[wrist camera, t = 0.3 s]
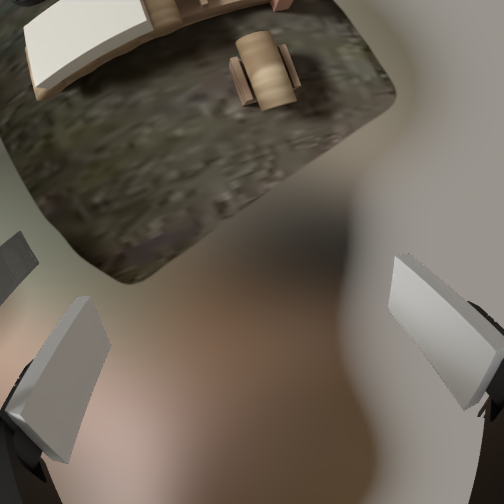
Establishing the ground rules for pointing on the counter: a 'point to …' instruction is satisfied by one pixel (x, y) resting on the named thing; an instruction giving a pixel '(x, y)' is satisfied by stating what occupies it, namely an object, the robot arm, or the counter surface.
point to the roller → (265, 70)
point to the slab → (80, 35)
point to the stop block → (280, 4)
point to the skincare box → (14, 264)
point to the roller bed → (195, 16)
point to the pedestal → (244, 83)
